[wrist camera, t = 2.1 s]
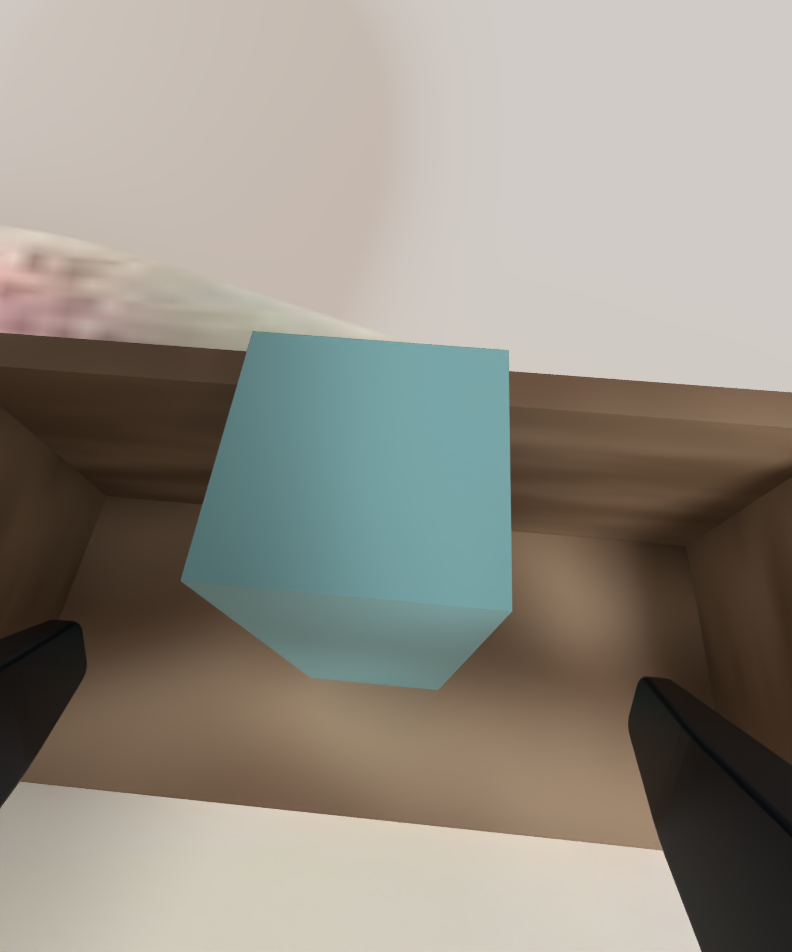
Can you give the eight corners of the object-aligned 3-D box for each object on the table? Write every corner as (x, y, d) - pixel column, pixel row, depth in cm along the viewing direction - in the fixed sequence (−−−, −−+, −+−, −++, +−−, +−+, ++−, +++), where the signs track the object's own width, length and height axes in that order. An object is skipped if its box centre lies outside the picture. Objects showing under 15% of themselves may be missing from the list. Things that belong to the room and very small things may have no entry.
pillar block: (437, 690, 16) (511, 611, 6) (310, 677, 16) (181, 580, 6) (443, 565, 18) (508, 350, 8) (329, 555, 18) (253, 331, 8)
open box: (745, 852, 15) (1139, 978, 7) (-1, 772, 16) (-394, 805, 8) (688, 537, 20) (888, 399, 12) (109, 487, 21) (-71, 327, 13)
